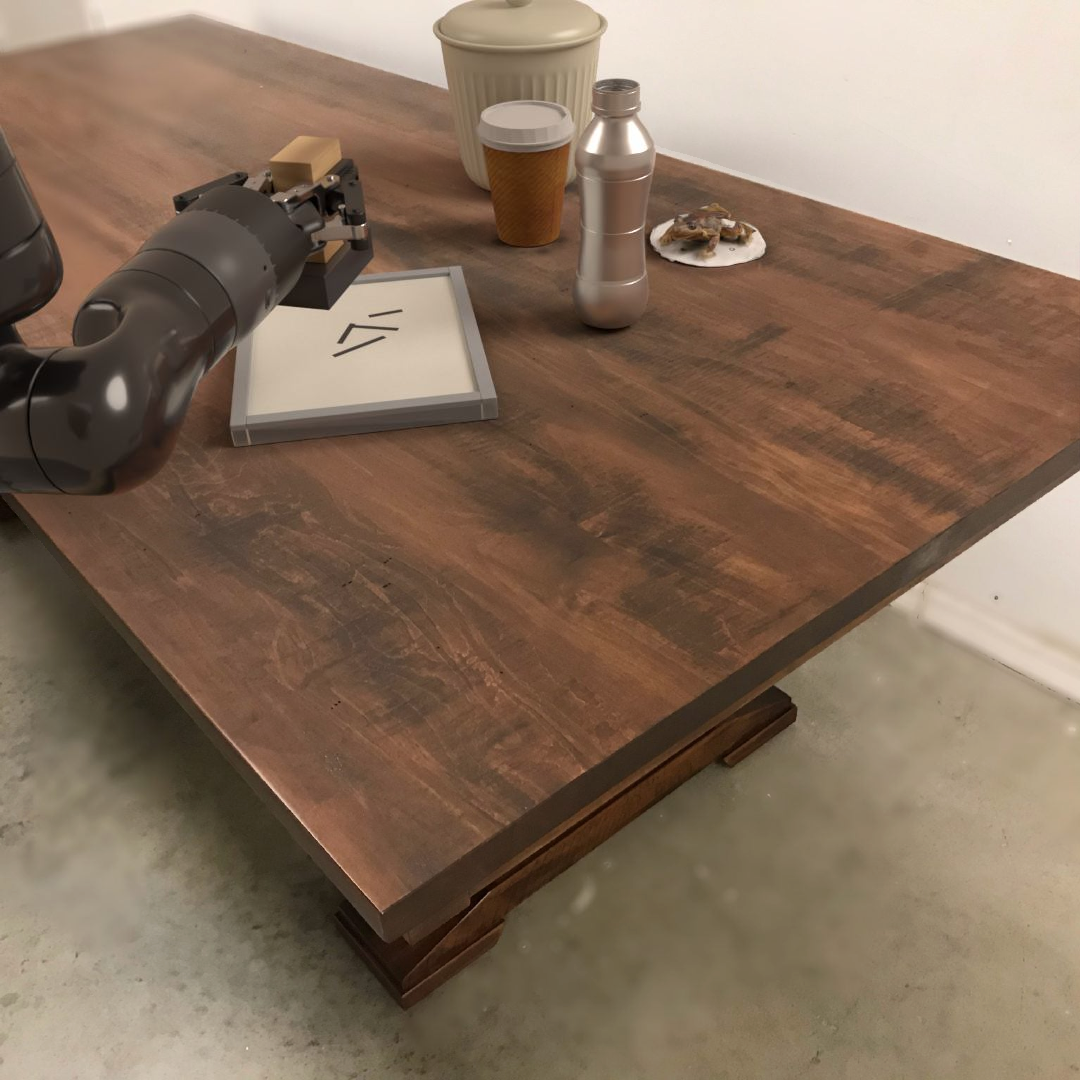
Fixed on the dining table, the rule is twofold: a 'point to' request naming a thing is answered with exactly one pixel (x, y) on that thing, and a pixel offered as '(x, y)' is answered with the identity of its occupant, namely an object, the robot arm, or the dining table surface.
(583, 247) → the silver bottle
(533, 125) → the disposable coffee cup
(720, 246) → the frog figurine
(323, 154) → the eraser
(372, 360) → the whiteboard
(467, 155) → the canister
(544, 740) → the dining table surface
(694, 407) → the dining table surface
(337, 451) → the dining table surface
